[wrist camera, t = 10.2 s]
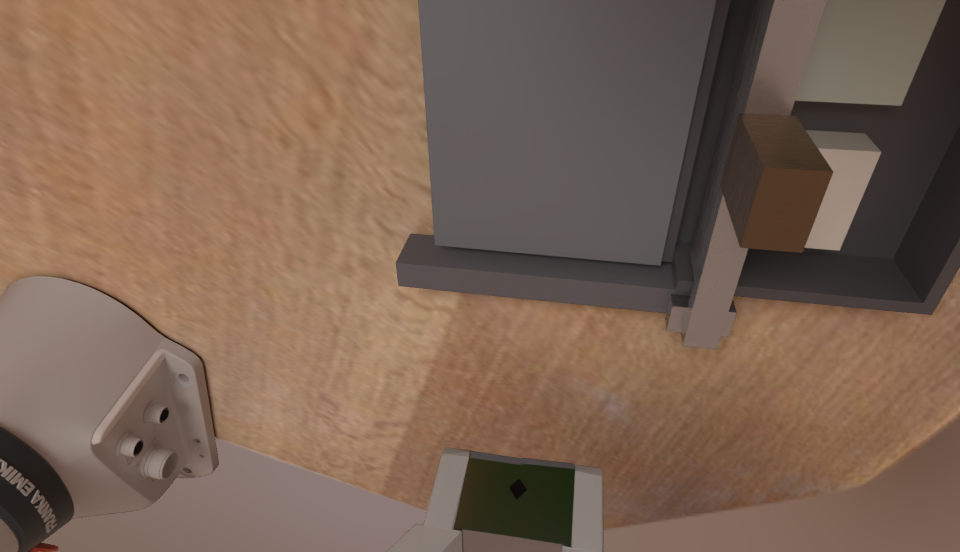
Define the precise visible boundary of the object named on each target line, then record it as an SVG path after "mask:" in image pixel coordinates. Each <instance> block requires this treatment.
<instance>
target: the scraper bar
mask: <svg viewBox="0 0 960 552" xmlns="http://www.w3.org/2000/svg"><path fill="white" fill-rule="evenodd" d="M825 3H826V0H752V2H751V6H750V10H749V14H748V18H747V22H746V26H745V30H744V34H743V38H742V43H741V47H740V51H739V55H738V59H737V63H736V67H735V71H734V75H733V79H732V83H731V88H730V92H729V96H728V100H727V104H726V108H725V112H724V116H723V120H722V124H721V129H720V133H719V137H718V141H717V145H716V149H715V153H714V157H713V161H712V165H711V170H710V174H709V178H708V182H707V186H706V190H705V194H704V198H703V202H702V206H701V211H700V215H699V219H698V223H697V227H696V231H695V235H694V239H693V243H692V247H691V251H690V260H691V265H692V270H693V276H694V283H693V287H692V291H691V295H690V296H687V295H677V294H671V295H670V299H669V304H668V308H667V312H666V317H665V321H666V330H667V331H674V332H681V337H682V344H683V346H690V347H699V348H708V349H717V347H718V344H719V341H720V337H729V334H730V331H731V328H732V325H733V322H734V319H735V316H736V309H735V305H734V302H733V300H732V299H733V296H734V293H735V290H736V287H737V283H738V280H739V277H740V274H741V271H742V267H743V264H744V261H745V258H746V255H747V251H748V248H750V249H762V250H773V251H785V252H797V253H803V250H804V248H805V245H806V242H807V240H808V237H809V235H810V232H811V229H812V227H813V224H814V222H815V219H816V216H817V214H818V211H819V208H820V206H821V203H822V201H823V198H824V195H825V193H826V190H827V187H828V185H829V182H830V180H831V177H832V174H833V170H832V169H831V167H830V166H829V164H828V163H827V161H826V160H825V158H824V157H823V155H822V154H821V152H820V151H819V149H818V148H817V146H816V145H815V144H814V142H813V141H812V139H811V138H810V136H809V135H808V133H807V132H806V130H805V129H804V127H803V126H802V124H801V123H800V121H799V120H798V118H797V117H796V116H790V114H791V111H792V108H793V105H794V102H795V99H796V95H797V92H798V89H799V86H800V83H801V79H802V76H803V73H804V70H805V67H806V63H807V60H808V57H809V54H810V51H811V48H812V44H813V41H814V38H815V35H816V32H817V28H818V25H819V22H820V19H821V16H822V12H823V9H824V6H825Z"/></svg>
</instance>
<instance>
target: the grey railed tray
mask: <svg viewBox="0 0 960 552" xmlns="http://www.w3.org/2000/svg"><path fill="white" fill-rule="evenodd" d="M418 5H419V19H420V34H421V49H422V63H423V78H424V93H425V107H426V122H427V137H428V151H429V166H430V180H431V195H432V210H433V224H434V236H431V235H420V234H410V236H409V238H408V240H407V242H406V244H405V246H404V248H403V249H402V251H401V253H400V255H399V257H398V259H397V261H396V269H397V278H398V286H404V287H414V288H423V289H433V290H443V291H453V292H463V293H472V294H482V295H492V296H502V297H512V298H521V299H531V300H541V301H551V302H560V303H570V304H580V305H590V306H600V307H609V308H619V309H629V310H639V311H649V312H658V313H666V312H667V308H668V304H669V299H670V295H671V294H677V295H687V296H690V295H691V292H689V291H678V290H676V288H675V281H674V274H673V268H672V262H662V256H663V251H664V246H665V242H666V237H667V232H668V227H669V223H670V218H671V213H672V208H673V204H674V199H675V194H676V189H677V185H678V180H679V175H680V171H681V166H682V161H683V156H684V152H685V147H686V142H687V137H688V133H689V128H690V123H691V118H692V114H693V109H694V104H695V99H696V95H697V90H698V85H699V80H700V76H701V71H702V66H703V61H704V57H705V52H706V47H707V42H708V38H709V33H710V28H711V24H712V19H713V14H714V9H715V5H716V0H418Z"/></svg>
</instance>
